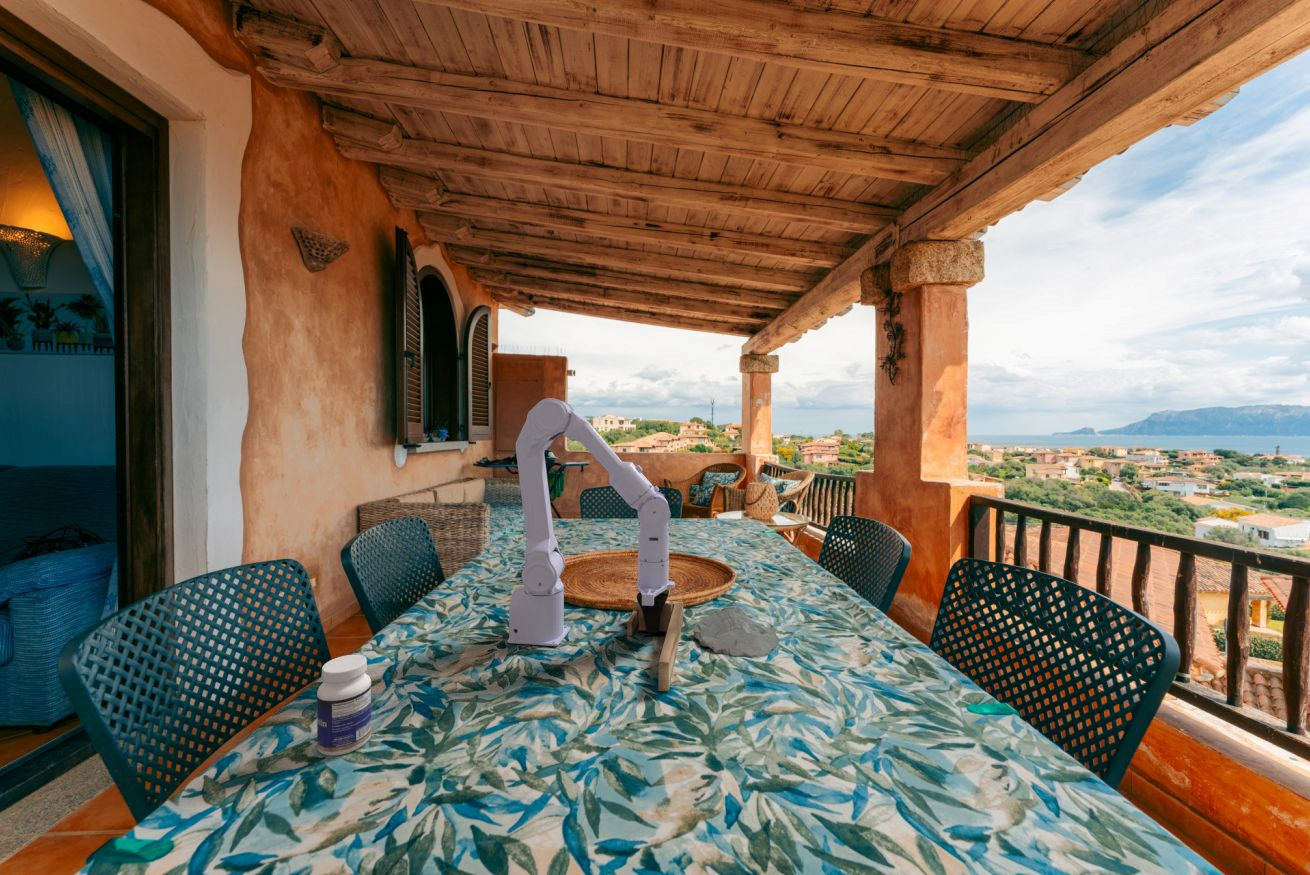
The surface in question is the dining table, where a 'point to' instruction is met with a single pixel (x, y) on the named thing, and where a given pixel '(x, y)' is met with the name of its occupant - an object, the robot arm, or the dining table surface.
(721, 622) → the stone
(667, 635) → the wooden bracket
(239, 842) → the dining table surface
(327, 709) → the pill bottle
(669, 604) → the cabinet block
